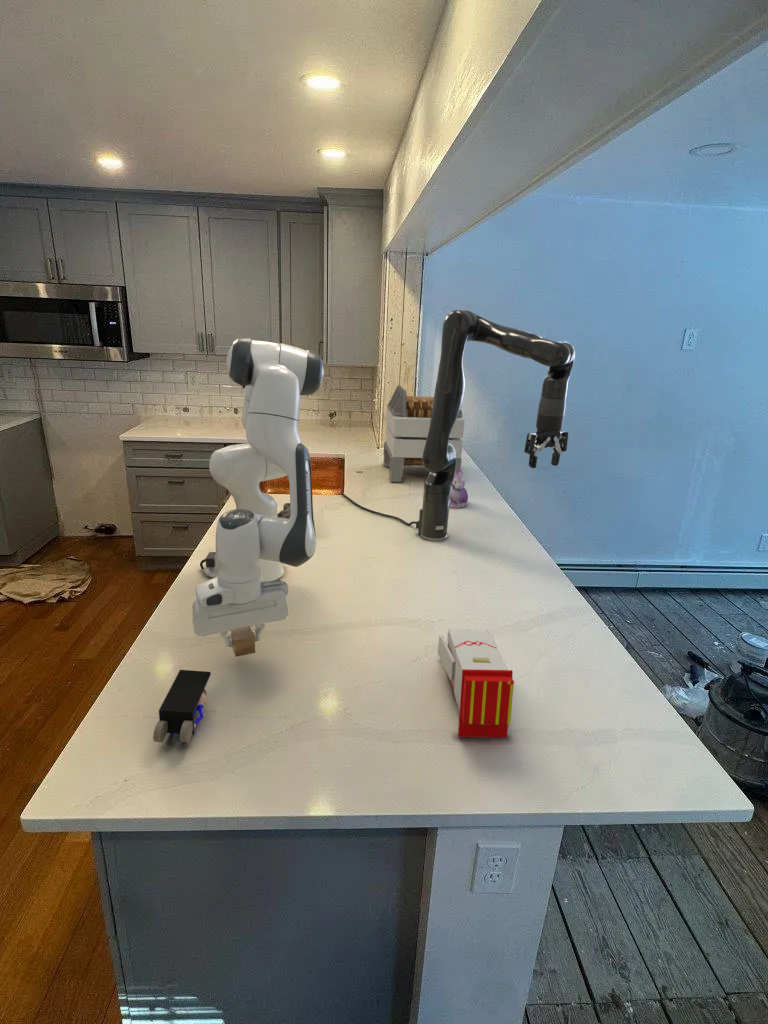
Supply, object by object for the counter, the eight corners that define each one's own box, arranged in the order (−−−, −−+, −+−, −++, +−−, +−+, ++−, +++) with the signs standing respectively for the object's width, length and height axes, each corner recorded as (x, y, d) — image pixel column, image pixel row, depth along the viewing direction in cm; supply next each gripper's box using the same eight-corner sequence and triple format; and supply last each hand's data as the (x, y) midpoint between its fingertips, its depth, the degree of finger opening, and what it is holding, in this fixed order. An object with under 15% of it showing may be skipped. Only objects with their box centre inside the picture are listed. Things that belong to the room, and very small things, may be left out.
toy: (488, 613, 130) (523, 677, 101) (484, 667, 133) (517, 744, 104) (435, 612, 130) (455, 676, 101) (432, 666, 133) (451, 743, 103)
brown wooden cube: (255, 652, 124) (254, 636, 122) (235, 657, 122) (234, 640, 120) (250, 642, 127) (249, 626, 126) (230, 646, 125) (230, 630, 124)
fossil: (280, 499, 216) (309, 478, 211) (296, 518, 219) (326, 498, 214) (263, 525, 196) (295, 503, 191) (282, 546, 199) (314, 524, 194)
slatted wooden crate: (382, 463, 289) (386, 382, 275) (445, 464, 293) (451, 384, 279) (390, 482, 257) (394, 392, 243) (460, 483, 261) (468, 394, 247)
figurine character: (193, 760, 99) (215, 697, 113) (188, 728, 96) (211, 667, 109) (154, 759, 99) (181, 696, 113) (148, 727, 96) (176, 666, 109)
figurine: (454, 509, 226) (458, 473, 221) (440, 502, 235) (443, 467, 229) (474, 507, 230) (477, 471, 225) (459, 499, 239) (463, 465, 234)
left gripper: (283, 572, 126) (284, 626, 131) (187, 588, 117) (192, 645, 122) (292, 584, 121) (293, 640, 126) (192, 602, 112) (197, 661, 117)
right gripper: (560, 409, 172) (552, 461, 177) (523, 411, 166) (516, 465, 171) (578, 414, 166) (570, 467, 171) (540, 416, 159) (533, 471, 165)
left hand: (242, 642), depth 124 cm, fingers closed on brown wooden cube, 4 cm apart
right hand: (543, 466), depth 171 cm, fingers open, 8 cm apart
